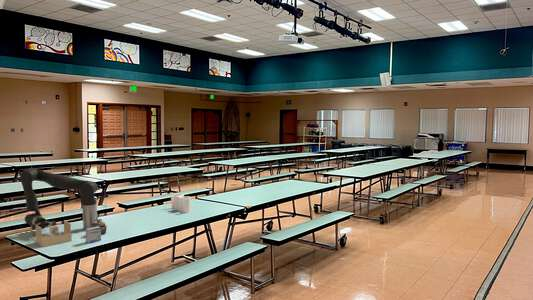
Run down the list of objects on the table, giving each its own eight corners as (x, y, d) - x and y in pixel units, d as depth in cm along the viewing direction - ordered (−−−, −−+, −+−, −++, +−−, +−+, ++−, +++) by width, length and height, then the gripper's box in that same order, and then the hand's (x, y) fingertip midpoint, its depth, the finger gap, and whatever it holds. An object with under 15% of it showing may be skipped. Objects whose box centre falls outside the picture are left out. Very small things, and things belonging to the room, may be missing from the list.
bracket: (193, 211, 330) (193, 197, 329) (182, 213, 324) (182, 198, 324) (181, 206, 350) (180, 193, 349) (170, 208, 345) (170, 194, 344)
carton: (59, 233, 268) (58, 217, 268) (71, 241, 250) (71, 223, 250) (31, 238, 257) (30, 221, 256) (42, 246, 239) (41, 229, 238)
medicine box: (88, 243, 245) (88, 229, 244) (85, 242, 248) (85, 228, 247) (101, 240, 251) (100, 227, 250) (98, 239, 254) (97, 226, 253)
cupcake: (93, 237, 259) (92, 222, 258) (90, 233, 267) (89, 219, 266) (108, 234, 265) (108, 219, 264) (105, 231, 272) (104, 217, 272)
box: (56, 240, 252) (55, 225, 251) (59, 242, 248) (58, 226, 247) (50, 241, 249) (49, 226, 248) (52, 243, 245) (52, 227, 245)
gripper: (27, 218, 265) (34, 223, 254) (51, 215, 275) (58, 219, 264) (28, 229, 266) (34, 234, 254) (51, 226, 276) (58, 230, 264)
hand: (46, 227), depth 259 cm, fingers open, 8 cm apart
